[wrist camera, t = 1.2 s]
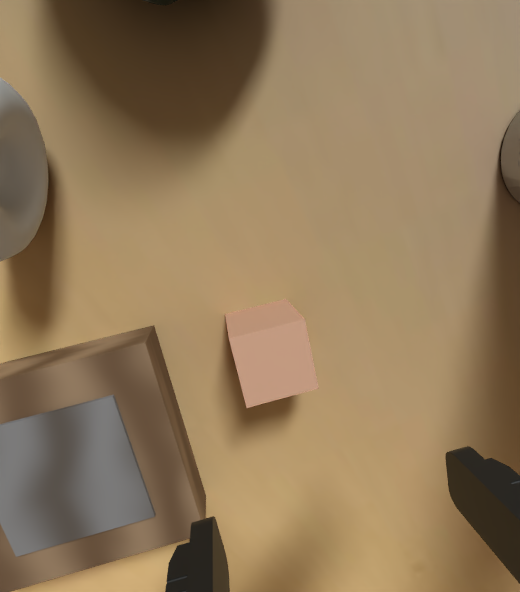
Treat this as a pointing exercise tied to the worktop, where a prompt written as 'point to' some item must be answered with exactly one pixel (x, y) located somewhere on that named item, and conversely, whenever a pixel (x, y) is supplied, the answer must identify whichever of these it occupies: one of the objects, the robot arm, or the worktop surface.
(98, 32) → the worktop surface
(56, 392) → the walnut base
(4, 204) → the donut
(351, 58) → the worktop surface
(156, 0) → the squash
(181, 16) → the worktop surface
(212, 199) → the worktop surface
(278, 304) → the terracotta block
